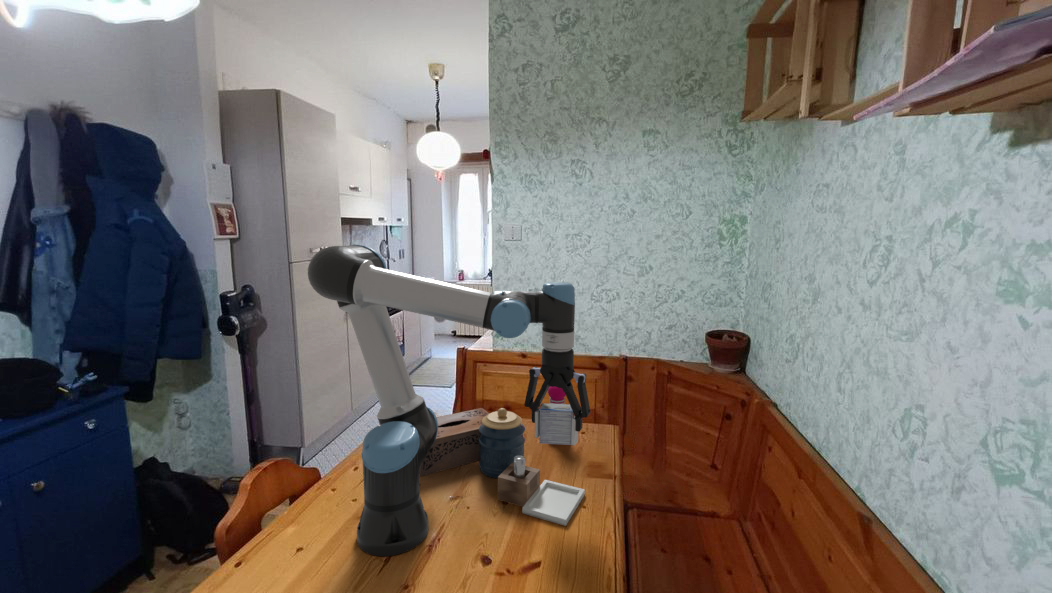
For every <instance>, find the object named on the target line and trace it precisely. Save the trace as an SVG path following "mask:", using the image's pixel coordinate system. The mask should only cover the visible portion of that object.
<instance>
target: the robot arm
mask: <svg viewBox="0 0 1052 593" xmlns="http://www.w3.org/2000/svg"><path fill="white" fill-rule="evenodd" d="M307 277H308V278H307V279H308V281H309V284H310V286H311V287H312V289H313V290H314V291H315V292H316V293H317V294H318V295H320V296H321V297H323V298H325V299H328V300H331V301H336V303H337V305H338V308H339V309H340V310H341V311H343V312H345V313H347V314H348V316H349V318H350V322H351V324H352V328H353V331H354V333H355V336H356V339H357V341H358V344H359V348H360V351H361V354H362V356H363V360H364V361H365V365H366V368H367V371H368V373H369V377H370V379H371V382H372V385H373V389H374V391H375V394H376V397H377V400H378V403H379V406H380V409H379V411H378V412H377V414H376V419H377V420H378V423H379V425H377V426H375V427H373V428H371V429H370V430H369V431H368V432H367V434H365V437H364V438H363V440H362V449H361V459H362V475H363V476H362V478H363V496H364V497H363V501H364V504H363V508H362V510H361V515H360V517H359V522H358V525H357V527H356V543H357V545H358V547H359V548H360V549H361V550H362V551H363V552H364V553H366V554H368V555H372V556H375V557H376V556H377V557H378V556H379V557H390V556H396V555H400V554H403V553H406V552H408V551H410V550H412V549H414V548H416V547H418V546H419V545H420V544H422V542H423V541H424V540H425V539H426V538H427V535H428V533H429V516H428V514H427V511H426V510H425V506H424V504H423V501H422V498H421V494H420V493H421V491H420V489H421V488H420V486H421V485H420V484H421V483H420V481H421V479H420V475H419V470H420V466H421V464H422V462H423V461H424V459H425V457H426V455H427V454H428V452H429V450H430V448H431V447H432V446H433V444H434V442H435V440H436V436H437V432H438V421H437V418H436V417H437V415H436V414H435V412H434V411H433V410H432V409H431V408H430V407H428V406H427V404H426V402H425V398H424V397H423V396H421V395H419V394H416V391H415V388H414V386H413V382H412V379H411V377H410V373H409V370H408V367H407V365H406V362H405V359H404V356H403V353H402V350H401V347H400V344H399V341H398V337H397V335H396V332H395V328H394V326H393V324H392V320H391V317H390V314H389V312H388V308H387V307H389V308H392V309H395V310H396V309H397V310H401V311H405V312H411V313H414V314H419V315H424V316H427V317H432V318H438V319H441V320H446V321H450V322H453V323H454V322H455V323H460V324H464V325H468V326H473V327H477V328H483V329H485V330H489V331H493V332H496V335H497V334H498V335H499V336H500V337H502V338H506V339H514V338H517V337H519V336H521V335H523V333H524V332H525V331H526V330H527V329H528V327H529V325H530V324H541V325H542V327H541V328H542V329H541V346H542V347H543V348H542V350H541V367H537V366H533V367H532V368H530V369H529V372H528V373H529V382H528V386H527V390H526V396H525V400H524V408H525V407H526V408H528V409H530V410H531V422H532V423H533V424H534V438H536V439H539V438H540V407H541V404H542V403H543V400H544V399H545V397H546V395H547V394H548V389H549V387H558V388H562V389H563V392H565V394H566V396H565V397H566V398H567V401H568V404H570V406H571V408H572V411H573V418H572V439H571V445H570V446H574V447H575V446H576V444H577V443H578V441H579V433H580V432H581V431H582V429H583V419H584V418H586V419H587V418H588V416H589V415H590V414H591V407H590V400H589V396H588V391H587V385H586V382H587V374H586V373H584V372H583V373H578V372H576V371H575V369H574V353H575V351H574V349H573V348H574V346H575V316H576V315H575V314H576V313H575V311H576V298H575V296H576V293H575V292H576V291H575V290H576V289H575V286H574V284H572V283H569V282H561V281H559V282H558V281H556V282H555V281H554V282H551V281H550V282H545V283H543V285H542V289H541V290H537V291H535V290H533V291H527V290H526V291H525V290H524V291H523V290H508V289H505V290H495V291H493V292H489V291H485V290H480V289H475V288H472V287H468V286H467V287H466V286H462V285H460V284H459V285H458V284H453V283H449V282H445V281H440V280H437V279H436V280H435V279H433V278H429V277H428V278H427V277H422V276H418V275H414V274H409V273H405V272H400V271H397V270H393V269H387V264H386V261H385V259H384V258H383V256H382V255H381V254H380V253H379V252H378V251H376V250H375V249H373V248H372V247H369V246H366V245H362V244H361V245H360V244H352V245H351V244H349V245H334V246H333V245H332V246H327V247H324V248H322V249H320V250H318V251H317V252H316V253H315V254H314V255H313V257H312V258H311V260H310V262H309V264H308V267H307ZM539 376H542V378H543V379H544V381H543V382H542V385H541V388H540V390H539V391H538V393H537V395H536V390H537V386H538V382H539V381H538V380H539ZM573 378H574V381H575V383H576V384H577V385H576V386H577V392H578V396H579V399H578V398H577V394H576V393H575V390H574V388H573V383H572V380H573ZM535 395H536V397H535ZM534 398H535V399H534Z"/></svg>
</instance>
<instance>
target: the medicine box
mask: <svg viewBox="0 0 1052 593" xmlns="http://www.w3.org/2000/svg"><path fill="white" fill-rule="evenodd" d="M539 408H540V436H539V444H540V445H541V444H546V445H547V444H548V445H567V446H572V445H571V439H572V418H573V417H574V413H573V411H572V408H571V406H570V404H569V403H568V404H566V403H564V404H551V403H545V402H544V403H543V402H541V404H540V407H539Z"/></svg>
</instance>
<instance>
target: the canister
mask: <svg viewBox="0 0 1052 593" xmlns="http://www.w3.org/2000/svg"><path fill="white" fill-rule="evenodd" d="M489 413H490V414H488V415H487V416H485V417H484V418H483V419H482V423H483V424H482V425H481V426H480V427H479V432H480V433H481V437H480V438H479V443H480V458H479V461H478V465H479V471H480V472H481V473H482V474H484V476H487V477H490V478H493V479H498V476H499V475H500V474H501V473H502V472H503V471H504V470H505V469H506V468H507V467H508V466H509V465H510V464H511V463H514V457H515V456H519V455H520V456H524V457H525V441H526V439H525V436H524V433H525V432H526V426H525V425H524V424H523V418H522V417H521V416H519V415H518V414H517V413H515V412H514V411H509V410H507V409H506V408H504V407H500V408H499V409H497V410H496V411H492V412H489Z"/></svg>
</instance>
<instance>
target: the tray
mask: <svg viewBox="0 0 1052 593" xmlns="http://www.w3.org/2000/svg"><path fill="white" fill-rule="evenodd" d="M585 492H586V490H585V489H584V488H580V487H576V486H572V485H570V484H565V483H560V482H557V481H551V480H549V479H544V480H543V481H542V483H540V486H539V487H538V489H537V490H536V491H535V492H534V494H533V495H532V496H531V497H530V499H529V500H528V501H527V502H526V504H525V505H524V506H523V507H522V506H521V507H522V510H521V512H522V515H527V516H530V517H534V518H537V519H541V520H545V521H548V522H551V523H554V524H558V525H562V526H564V527H566V526H567V525H568V524H569V522H570V520H571V519H572V516H573V515H574V513H575V512H576V510H577V508H578V506H579V505H580V504H581V502H582V500H583V498H584V497H585V495H586V493H585Z"/></svg>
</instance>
